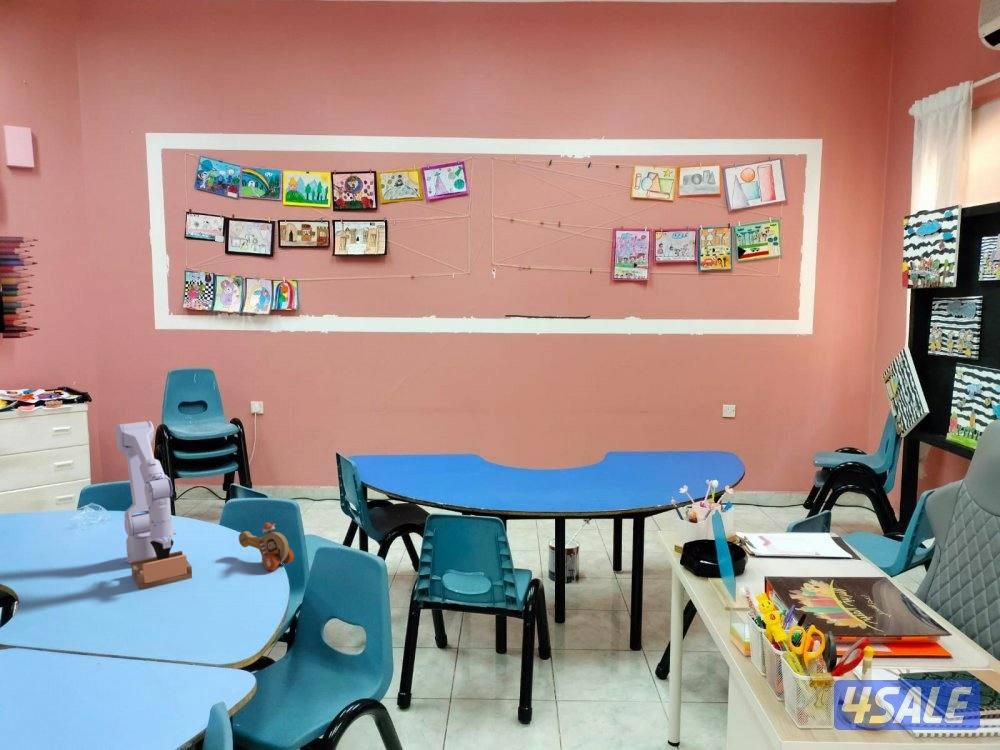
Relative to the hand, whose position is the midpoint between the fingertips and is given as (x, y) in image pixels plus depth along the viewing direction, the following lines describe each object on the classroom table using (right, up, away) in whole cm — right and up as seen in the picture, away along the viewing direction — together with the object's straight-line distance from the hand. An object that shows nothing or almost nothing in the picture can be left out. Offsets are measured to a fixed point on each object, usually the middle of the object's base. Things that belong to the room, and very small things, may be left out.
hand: (163, 564), depth 203 cm
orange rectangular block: (+2, -4, -2) cm, 5 cm away
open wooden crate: (-2, -5, +3) cm, 6 cm away
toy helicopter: (+25, -3, +14) cm, 29 cm away
